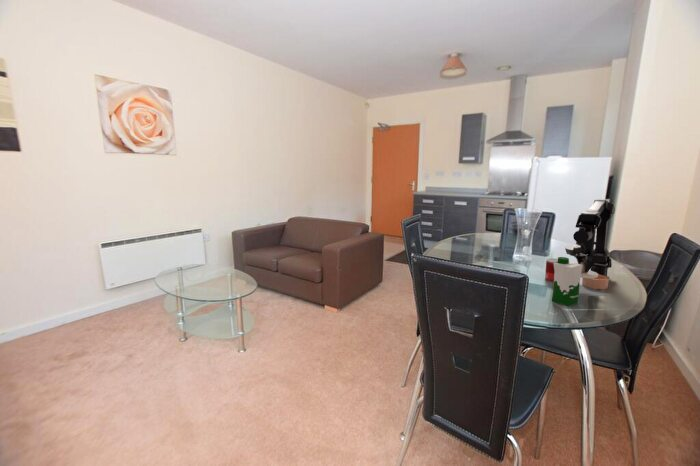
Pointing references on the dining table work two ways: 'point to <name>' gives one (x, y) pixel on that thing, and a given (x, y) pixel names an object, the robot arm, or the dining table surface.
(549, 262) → the canned food
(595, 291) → the mat
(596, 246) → the robot arm
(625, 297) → the dining table surface
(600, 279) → the bowl
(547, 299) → the dining table surface
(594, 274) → the lid
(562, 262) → the milk carton
